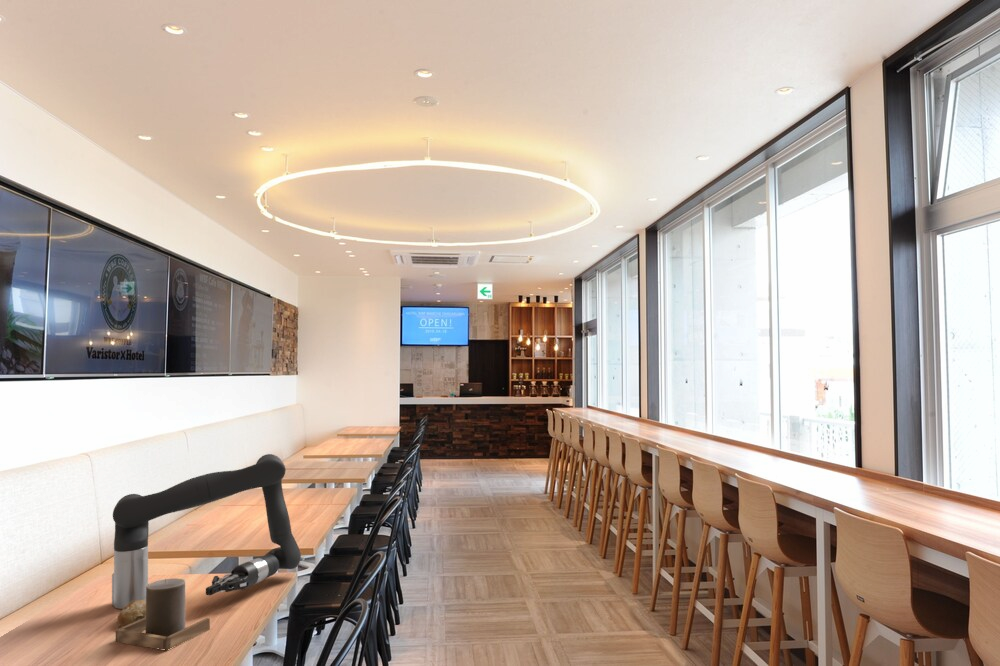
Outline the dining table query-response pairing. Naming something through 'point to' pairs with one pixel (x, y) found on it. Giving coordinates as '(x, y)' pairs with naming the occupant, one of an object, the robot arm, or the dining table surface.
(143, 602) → the bread roll
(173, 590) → the pillar candle
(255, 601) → the dining table surface
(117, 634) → the brown wooden u-shaped frame
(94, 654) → the dining table surface
